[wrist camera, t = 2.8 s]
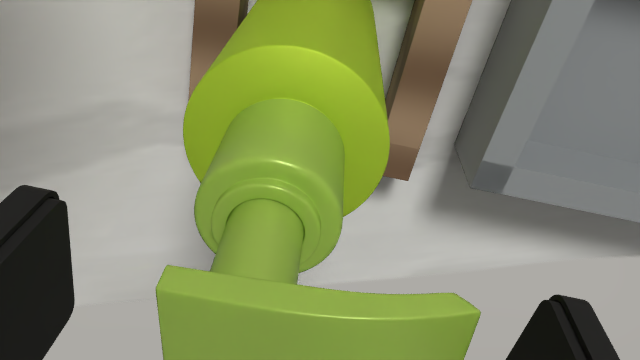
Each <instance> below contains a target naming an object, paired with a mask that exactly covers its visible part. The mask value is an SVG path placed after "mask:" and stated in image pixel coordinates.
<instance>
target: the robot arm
mask: <svg viewBox="0 0 640 360" xmlns="http://www.w3.org/2000/svg"><path fill="white" fill-rule="evenodd" d="M73 308H74V288H73V275H72V263H71V250H70V238H69V225H68V212H67V205H66V203H65V201H62V200H59V196H58V194H57V192H55V191H52V190H47V189H42V188H37V187H32V186H27V185H22V186H19V187H18V188H16V189H15V190H14V191H13V192H12V193H11V194H10V195H9V196H8V197H6V198H5V199H4V200H3V201H2V202H1V203H0V360H42V359H43V358H44V356H45V355H46V353H47V352H48V350H49V349H50V347H51V346H52V344H53V343H54V341H55V340H56V338H57V337H58V335H59V333H60V332H61V331H62V329H63V328H64V326H65V325H66V323H67V321H68V320H69V318H70V316H71V314H72V311H73ZM506 360H620V359H619V357H618V355H617V353H616V351H615V349H614V348H613V346H612V344H611V342H610V340H609V338H608V337H607V335H606V333H605V331H604V329H603V327H602V325H601V323H600V322H599V320H598V318H597V316H596V314H595V312H594V310H593V308H592V307H591V305H590V304H589V303H588V302H587V301H585V300H581V299H577V298H571V297H567V296H561V295H554V296H552V297H551V298H550V299H549V300H543V301H542V302H541V303H540V304H539V306H538V308H537V309H536V311H535V313H534V314H533V316H532V317H531V319H530V321H529V323H528V324H527V326H526V327H525V329H524V331H523V332H522V334H521V335H520V337H519V339H518V341H517V342H516V344H515V345H514V347H513V349H512V350H511V352H510V353H509V355H508V357H507V358H506Z"/></svg>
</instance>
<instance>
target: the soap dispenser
mask: <svg viewBox="0 0 640 360" xmlns="http://www.w3.org/2000/svg"><path fill="white" fill-rule="evenodd" d="M183 137H184V145H185V150H186V154H187V157H188V160H189V163H190V165H191V167H192V169H193V171H194V173H195V175H196V177H197V178H198V180H199V181H200V183H201V185H200V187H199V189H198V192H197V195H196V199H195V206H194V215H195V222H196V225H197V228H198V231H199V233H200V235H201V237H202V239H203V240H204V242H205V243H206V244H207V246H208V247H209V248H210V249H211V250H212V251H213V252H214V253H215V254H216V255H215V258H214V261H213V264H212V266H211V269H210V272H209V271H203V270H196V269H190V268H184V267H177V266H171V265H167V266H166V267H165V269H164V271H163V273H162V276H161V278H160V280H159V282H158V284H157V286H156V297H157V306H158V314H159V323H160V333H161V341H162V350H163V359H164V360H464V357H465V355H466V352H467V350H468V347H469V344H470V342H471V339H472V336H473V334H474V331H475V328H476V326H477V323H478V320H479V318H480V314H481V312H480V311H479V310H478V309H477V308H476V307H474V306H473V305H472V304H470V303H469V302H467V301H466V300H465V299H463V298H461V297H459V296H458V295H457V294H455V293H430V294H375V293H360V292H350V291H341V290H332V289H324V288H317V287H310V286H303V285H297V280H298V273H300V272H303V271H306V270H308V269H310V268H312V267H314V266H316V265H317V264H319V263H320V262H322V261H323V260H324V259H325V258H326V257H327V256H328V255H329V254H330V253H331V252H332V250H333V249H334V247H335V246H336V244H337V242H338V239H339V236H340V233H341V229H342V222H343V217H344V216H346V215H347V214H349V213H351V212H352V211H354V210H355V209H356V208H358V207H359V206H360V205H361V204H362V203H363V202H365V201H366V200H367V198H368V197H369V196H370V195H371V194H372V193H373V191H374V190H375V188H376V187H377V185H378V184H379V182H380V180H381V178H382V176H383V174H384V171H385V168H386V165H387V162H388V157H389V149H390V136H389V127H388V119H387V112H386V104H385V96H384V89H383V81H382V73H381V66H380V58H379V50H378V43H377V35H376V27H375V19H374V12H373V7H372V4H371V1H370V0H257V2H256V3H255V5H254V6H253V7H252V9H251V10H250V12H249V13H248V14H247V16H246V17H245V19H244V20H243V21H242V23H241V24H240V26H239V27H238V28H237V30H236V31H235V33H234V34H233V35H232V37H231V38H230V40H229V41H228V42H227V44H226V45H225V47H224V48H223V49H222V51H221V52H220V54H219V55H218V56H217V58H216V59H215V61H214V62H213V63H212V65H211V66H210V68H209V69H208V70H207V72H206V73H205V75H204V76H203V77H202V79H201V80H200V82H199V83H198V85H197V86H196V88H195V89H194V91H193V93H192V95H191V97H190V99H189V102H188V105H187V108H186V111H185V116H184V124H183Z"/></svg>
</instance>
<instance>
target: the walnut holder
mask: <svg viewBox="0 0 640 360" xmlns="http://www.w3.org/2000/svg"><path fill="white" fill-rule="evenodd" d="M248 1H249V0H195V9H194V25H193V40H192V56H191V71H190V87H189V99H190V97H191V95H192V93H193V91H194V89H195V88H196V86H197V85H198V83H199V82H200V80H201V79H202V77H203V76H204V75H205V73H206V72H207V70H208V69H209V68H210V66H211V65H212V63H213V62H214V61H215V59H216V58H217V56H218V55H219V54H220V52H221V51H222V49H223V48H224V47H225V45H226V44H227V42H228V41H229V40H230V38H231V37H232V35H233V34H234V33H235V31H236V30H237V28H238V27H239V26H240V24H241V23H242V21H243V20H244V19H245V17H246V16H247V9H248ZM471 2H472V0H415V2H414V6H413V9H412V13H411V16H410V19H409V23H408V26H407V29H406V33H405V36H404V40H403V43H402V46H401V50H400V53H399V57H398V60H397V63H396V67H395V70H394V74H393V77H392V80H391V84H390V87H389V90H388V94H387V97H386V101H385V104H386V112H387V119H388V127H389V136H390V149H389V157H388V162H387V165H386V168H385V171H384V174H383V176H386V177H391V178H396V179H400V180H405V181H408V180H409V177H410V174H411V171H412V168H413V166H414V163H415V160H416V157H417V154H418V152H419V149H420V146H421V143H422V140H423V137H424V135H425V132H426V129H427V126H428V123H429V121H430V118H431V115H432V112H433V109H434V106H435V104H436V101H437V98H438V95H439V92H440V90H441V87H442V84H443V81H444V78H445V76H446V73H447V70H448V67H449V64H450V61H451V59H452V56H453V53H454V50H455V47H456V45H457V42H458V39H459V36H460V33H461V31H462V28H463V25H464V22H465V19H466V16H467V14H468V11H469V8H470V5H471Z"/></svg>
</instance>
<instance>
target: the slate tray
mask: <svg viewBox="0 0 640 360" xmlns="http://www.w3.org/2000/svg"><path fill="white" fill-rule="evenodd" d="M454 145H455V148H456V150H457V153H458V156H459V159H460V162H461V164H462V167H463V170H464V173H465V176H466V178H467V181H468V184H469V187H470V188H473V189H478V190H483V191H488V192H493V193H498V194H503V195H507V196H512V197H517V198H522V199H527V200H532V201H537V202H542V203H546V204H551V205H556V206H561V207H566V208H571V209H576V210H580V211H585V212H590V213H595V214H600V215H605V216H610V217H615V218H619V219H624V220H629V221H634V222H639V223H640V0H512V1H511V3H510V6H509V8H508V11H507V13H506V16H505V18H504V21H503V23H502V26H501V28H500V31H499V33H498V36H497V38H496V41H495V43H494V46H493V48H492V51H491V54H490V56H489V59H488V61H487V64H486V66H485V69H484V71H483V74H482V76H481V79H480V81H479V84H478V86H477V89H476V91H475V94H474V96H473V99H472V101H471V104H470V106H469V109H468V111H467V114H466V117H465V119H464V122H463V124H462V127H461V129H460V132H459V134H458V137H457V139H456V142H455V144H454Z"/></svg>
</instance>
